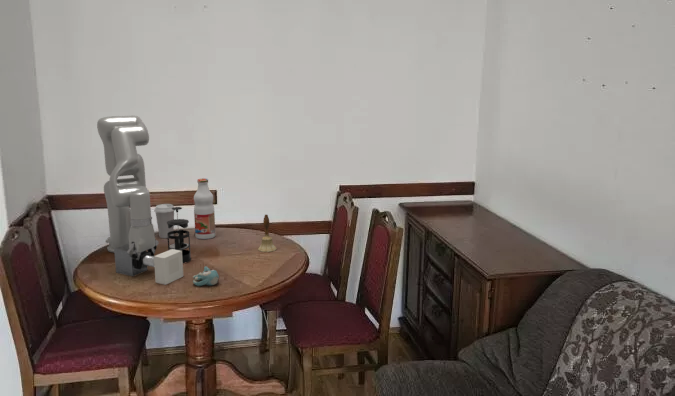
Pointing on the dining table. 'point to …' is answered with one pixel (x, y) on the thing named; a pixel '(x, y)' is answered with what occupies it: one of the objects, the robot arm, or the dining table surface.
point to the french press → (179, 237)
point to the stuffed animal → (206, 277)
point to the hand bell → (267, 238)
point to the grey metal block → (126, 262)
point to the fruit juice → (204, 211)
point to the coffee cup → (164, 219)
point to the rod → (146, 259)
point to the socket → (168, 266)
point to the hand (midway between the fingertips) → (144, 265)
